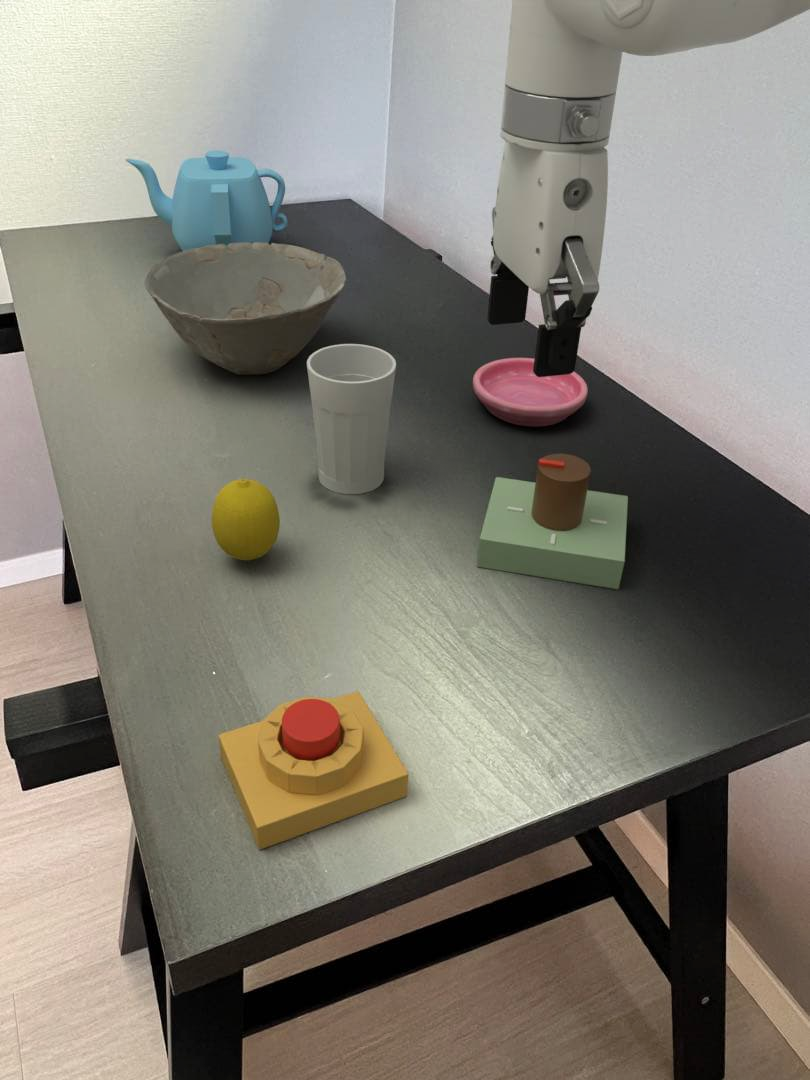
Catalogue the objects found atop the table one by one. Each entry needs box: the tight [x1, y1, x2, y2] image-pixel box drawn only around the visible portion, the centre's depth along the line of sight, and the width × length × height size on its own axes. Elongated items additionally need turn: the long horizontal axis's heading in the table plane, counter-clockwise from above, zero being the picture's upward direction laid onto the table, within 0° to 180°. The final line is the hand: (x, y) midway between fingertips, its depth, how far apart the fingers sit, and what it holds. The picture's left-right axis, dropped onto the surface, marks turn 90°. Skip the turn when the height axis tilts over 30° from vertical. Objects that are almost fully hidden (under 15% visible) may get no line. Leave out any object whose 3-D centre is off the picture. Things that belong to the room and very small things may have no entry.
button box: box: [217, 690, 409, 851], centre depth 61 cm, size 10×8×4 cm
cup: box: [306, 343, 397, 495], centre depth 88 cm, size 8×8×12 cm
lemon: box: [211, 477, 281, 561], centre depth 78 cm, size 6×6×8 cm
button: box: [282, 699, 340, 760], centre depth 59 cm, size 4×4×2 cm
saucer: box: [472, 357, 589, 427], centre depth 103 cm, size 12×12×3 cm
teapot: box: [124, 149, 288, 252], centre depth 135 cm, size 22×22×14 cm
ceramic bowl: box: [144, 242, 347, 376], centre depth 109 cm, size 22×23×10 cm
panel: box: [476, 476, 629, 590], centre depth 83 cm, size 12×10×3 cm
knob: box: [531, 453, 592, 530], centre depth 80 cm, size 4×4×5 cm
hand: (528, 346), depth 75 cm, fingers open, 9 cm apart
